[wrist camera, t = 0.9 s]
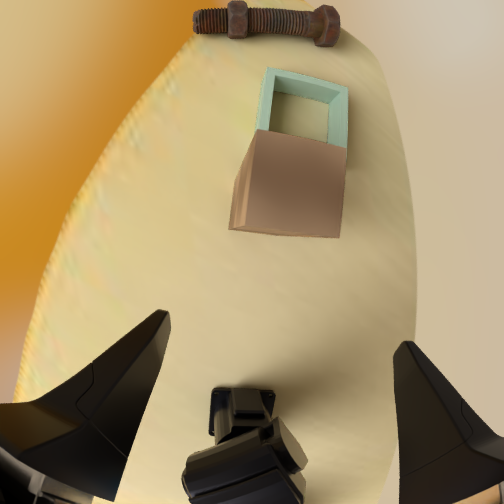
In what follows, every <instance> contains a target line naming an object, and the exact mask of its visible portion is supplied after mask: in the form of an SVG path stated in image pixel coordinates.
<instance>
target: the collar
mask: <svg viewBox="0 0 504 504" xmlns="http://www.w3.org/2000/svg"><path fill="white" fill-rule="evenodd" d="M273 91H278V92H283V93H287V94H292V95H296V96H301V97H305V98H309V99H313V100H317V101H320V102H324V103H328V104H329V116H328V137H327V143H328V144H332V145H336V146H340V147H344V148H347V138H348V88H347V87H344V86H341V85H338V84H335V83H331V82H328V81H325V80H321V79H318V78H314V77H310V76H306V75H302V74H298V73H294V72H289V71H285V70H280V69H275V68H270V67H267V69H266V72H265V74H264V77H263V80H262V84H261V91H260V98H259V105H258V112H257V119H256V127H255V132H256V130H257V129H261V130H267V131H268V129H269V121H270V113H271V105H272V96H273ZM254 135H255V134H254ZM346 160H347V151H346Z"/></svg>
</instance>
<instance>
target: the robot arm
mask: <svg viewBox="0 0 504 504" xmlns="http://www.w3.org/2000/svg"><path fill="white" fill-rule="evenodd" d="M170 331H171V322H170V314H169V312H168V311H166V310H161V309H158V310H156V311H155V312H154V313H152V314H151V315H150V316H149V317H147V318H146V319H145V320H144V321H142V322H141V323H140V324H138V325H137V326H136V327H135V328H133V329H132V330H131V331H130V332H128V333H127V334H126V335H125V336H123V337H122V338H121V339H120V340H118V341H117V342H116V343H115V344H113V345H112V346H111V347H110V348H108V349H107V350H106V351H105V352H103V353H102V354H101V355H100V356H98V357H97V358H96V359H95V360H93V361H92V363H90V364H88V365H87V366H86V367H85V368H83V369H82V370H81V371H79V372H78V373H77V374H76V375H74V376H73V377H71V378H70V379H68V380H67V381H65V382H64V383H62V384H61V385H59V386H58V387H56V388H54V389H53V390H51V391H50V392H48V393H46V394H45V395H43V396H42V397H40V398H38V399H36V400H33V401H30V402H22V403H3V404H2V403H1V404H0V504H92V501H93V498H94V496H96V497H99V498H102V499H105V500H109V501H112V502H114V500H115V497H116V494H117V490H118V487H119V484H120V481H121V478H122V475H123V472H124V469H125V466H126V463H127V460H128V459H127V458H128V456H129V454H130V451H131V448H132V445H133V442H134V439H135V436H136V433H137V431H138V428H139V425H140V422H141V419H142V417H143V414H144V411H145V409H146V406H147V403H148V400H149V398H150V395H151V392H152V390H153V387H154V385H155V382H156V379H157V377H158V374H159V372H160V369H161V366H162V362H163V358H164V354H165V350H166V347H167V343H168V339H169V335H170ZM393 368H394V394H395V403H396V413H397V425H398V440H399V463H400V465H399V466H400V479H399V480H400V481H399V482H400V485H399V504H504V437H501V436H499V435H497V434H496V433H494V432H493V431H492V429H491V428H490V427H489V426H488V425H487V424H486V423H485V422H484V421H483V420H482V419H481V418H480V417H479V416H478V415H477V414H476V413H475V412H474V410H473V409H472V408H471V407H470V406H469V405H468V404H467V402H466V401H465V400H464V399H463V398H462V397H461V395H460V394H459V393H458V392H457V390H456V389H455V388H454V387H453V386H452V385H451V383H450V382H449V381H448V380H447V379H446V378H445V376H444V375H443V374H442V373H441V372H440V371H439V370H438V368H437V367H436V366H435V365H434V364H433V363H432V362H431V361H430V360H429V359H428V357H427V356H426V355H425V354H424V353H423V352H422V351H421V350H420V348H419V347H418V346H417V345H416V344H415V343H414V342H413V341H403V342H402V343H401V344H400V346H399V347H398V349H397V350H396V351H395V353H394V356H393ZM215 392H218V394H215ZM270 394H272V396H269V395H270ZM275 396H276V395H275V392H274V391H272V390H257V389H238V388H233V389H223V388H214V389H213V390H212V392H211V404H210V418H209V435H211V436H215V446H213V447H210V448H208V449H205V450H202V451H198V452H195V453H194V454H191V455H190V456H189V457H188V459H187V462H186V468H185V469H184V471H183V473H182V484H183V488H184V490H185V492H186V494H187V495H188V497H189V502H190V503H191V504H304V499H305V486H306V481H305V479H304V477H303V475H302V474H301V472H300V471H301V470H303V469H304V468H305V466H306V464H307V462H308V459H307V457H306V455H305V453H304V452H303V450H302V448H301V446H300V444H299V443H298V441H297V440H296V439H295V438H294V436H293V435H292V434H291V432H290V431H289V430H288V429H287V427H286V426H285V425H284V423H283V422H282V421H281V419H280V418H279V417H276V418H274V419H273V421H271V416H272V411H273V406H274V401H275ZM212 431H214V432H212Z"/></svg>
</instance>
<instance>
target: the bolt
mask: <svg viewBox="0 0 504 504" xmlns="http://www.w3.org/2000/svg"><path fill="white" fill-rule="evenodd" d="M193 22H194V25H193V31H194V32H196V33H197V34H199V33H200V34H202V33H203V34H205V33H206V34H208V33H215V32H216V33H218V32H219V33H221V32H222V33H224V32H226V33H227V35H228V37H229V38H230V39H242V38H245V37H246V35H247V32H248V33H249V32H251V33H252V32H253V31H254V33H255V32H256V31H257V33H258V32H259V31H260V33H262V32H263V33H265V32H266V33H268V32H269V33H276V34H277V33H279V34H281V33H282V34H284V33H285V34H291V35H293V34H294V35H300V36H304V37H311V38H314V42H315V46H320V47H331V46H334V44H335V43H336V41H337V39H338V38H339V35H340V16H339V14H338V12H337V11H336V9H335V8H334V7H333V6H328V5H322V6H320V7H319V8H317V9H315V10H314V12H312V11H295V10H294V11H293V10H287V9H274V8H272V9H271V8H269V9H268V8H266V9H265V8H262V9H261V8H259V9H258V8H256V9H255V8H253V9H252V8H251V7H250V8H248V7H247V3H245V2H244V1H231V2H229V3H228V7H227V9H226V8H224V9H222V8H221V9H219V8H218V9H216V8H214V9H212V8H211V9H209V8H208V9H207V10H206V9H204V10H203V9H201V10H198V11H195V12H194V14H193Z"/></svg>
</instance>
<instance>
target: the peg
mask: <svg viewBox="0 0 504 504" xmlns="http://www.w3.org/2000/svg"><path fill="white" fill-rule="evenodd" d="M346 151H347V148H344V147H340V146H336V145H332V144H328V143H324V142H320V141H316V140H311V139H307V138H302V137H298V136H293V135H288V134H283V133H278V132H272V131H267V130H261V129H257V130H256V132H255V135H254V137H253V139H252V142H251V144H250V146H249V148H248V151H247V153H246V155H245V158H244V160H243V162H242V165H241V167H240V170H239V172H238V174H237V177H236V179H235V183H234V191H233V198H232V206H231V214H230V222H229V230H237V231H245V232H253V233H261V234H269V235H276V236H300V237H322V238H339V237H340V228H341V218H342V208H343V197H344V184H345V170H346Z"/></svg>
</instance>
